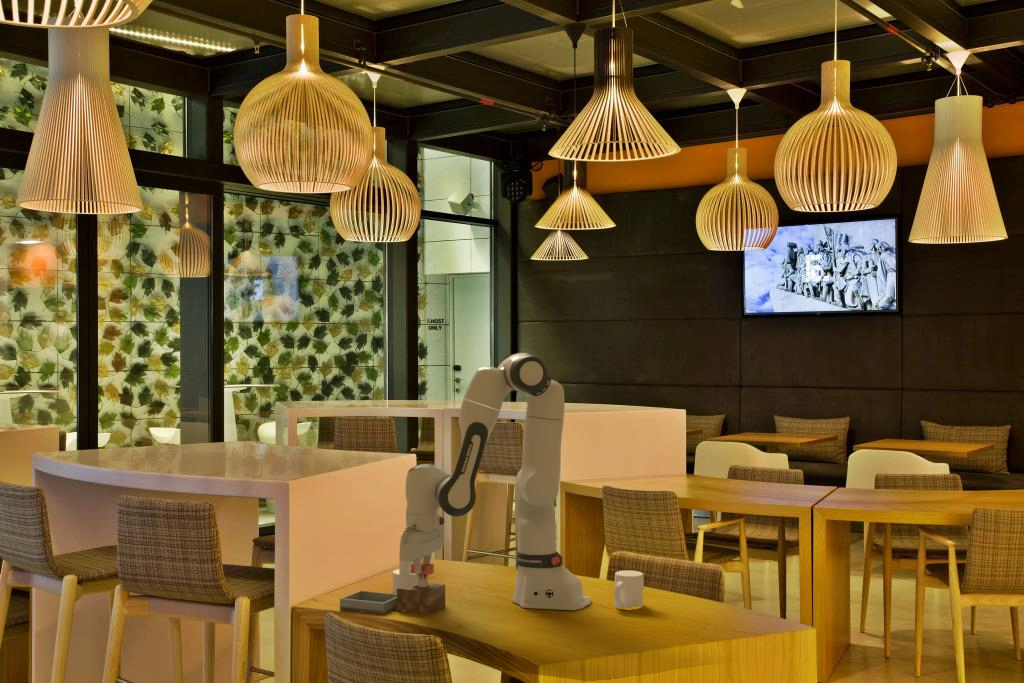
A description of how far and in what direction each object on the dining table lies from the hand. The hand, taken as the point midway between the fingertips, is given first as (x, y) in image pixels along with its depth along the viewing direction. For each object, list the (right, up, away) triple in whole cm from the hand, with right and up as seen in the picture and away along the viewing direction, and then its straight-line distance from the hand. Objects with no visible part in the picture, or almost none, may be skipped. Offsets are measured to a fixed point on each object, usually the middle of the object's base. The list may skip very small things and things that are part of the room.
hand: (422, 571), depth 295 cm
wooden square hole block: (0, -10, 0) cm, 10 cm away
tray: (-14, -10, 0) cm, 17 cm away
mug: (+57, -10, 0) cm, 58 cm away
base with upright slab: (-6, -11, +20) cm, 23 cm away
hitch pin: (0, -8, 0) cm, 8 cm away
